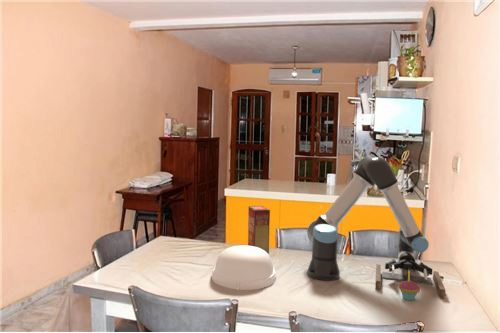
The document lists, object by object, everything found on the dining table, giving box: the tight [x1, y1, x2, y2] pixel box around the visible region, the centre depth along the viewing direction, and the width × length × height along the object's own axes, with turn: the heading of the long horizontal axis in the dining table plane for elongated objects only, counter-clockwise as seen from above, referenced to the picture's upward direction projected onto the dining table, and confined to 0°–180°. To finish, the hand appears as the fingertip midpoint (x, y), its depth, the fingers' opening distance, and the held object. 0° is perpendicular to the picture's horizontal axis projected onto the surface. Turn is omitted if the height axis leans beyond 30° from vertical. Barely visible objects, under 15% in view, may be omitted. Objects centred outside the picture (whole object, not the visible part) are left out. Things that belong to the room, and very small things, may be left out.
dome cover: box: [211, 244, 277, 291], centre depth 195 cm, size 32×30×14 cm
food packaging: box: [247, 205, 271, 255], centre depth 236 cm, size 13×9×25 cm
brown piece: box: [374, 264, 446, 300], centre depth 192 cm, size 28×24×4 cm
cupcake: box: [398, 270, 421, 301], centre depth 176 cm, size 9×8×12 cm
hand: (409, 274), depth 185 cm, fingers open, 13 cm apart
